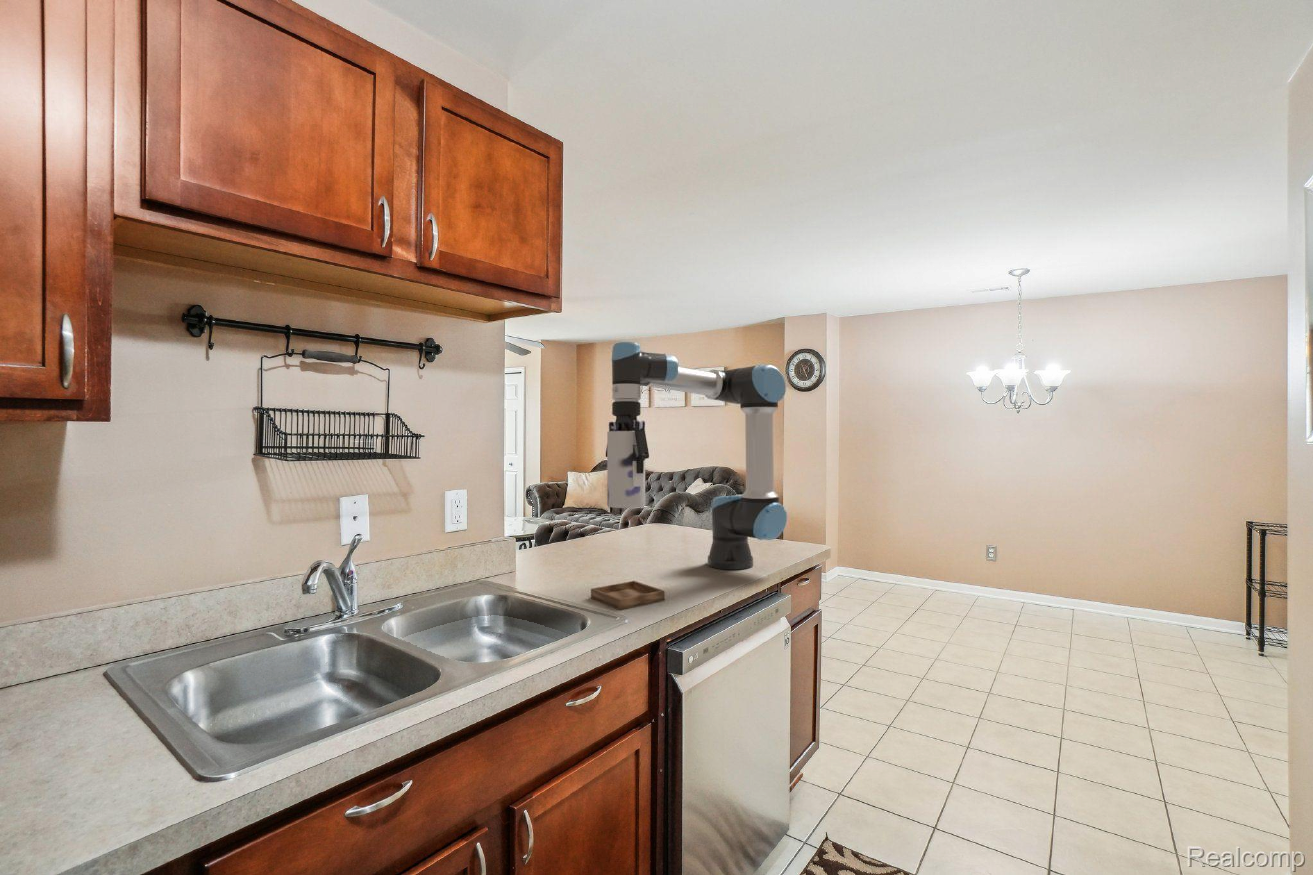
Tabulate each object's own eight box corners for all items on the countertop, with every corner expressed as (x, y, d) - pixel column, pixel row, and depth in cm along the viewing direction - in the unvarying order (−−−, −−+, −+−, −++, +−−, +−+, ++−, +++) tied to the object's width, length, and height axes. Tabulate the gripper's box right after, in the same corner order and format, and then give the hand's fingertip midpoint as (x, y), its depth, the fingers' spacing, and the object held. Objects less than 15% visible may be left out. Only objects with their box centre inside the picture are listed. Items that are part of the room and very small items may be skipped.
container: (628, 509, 151) (628, 430, 151) (599, 507, 157) (599, 431, 157) (652, 506, 159) (652, 431, 159) (624, 503, 165) (624, 431, 165)
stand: (634, 589, 167) (634, 580, 167) (664, 600, 156) (664, 590, 156) (591, 598, 159) (590, 588, 159) (619, 610, 148) (619, 599, 148)
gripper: (592, 402, 165) (592, 483, 165) (638, 398, 147) (639, 488, 147) (615, 403, 169) (615, 481, 169) (663, 399, 151) (663, 487, 151)
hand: (626, 485), depth 158 cm, fingers closed on container, 10 cm apart
